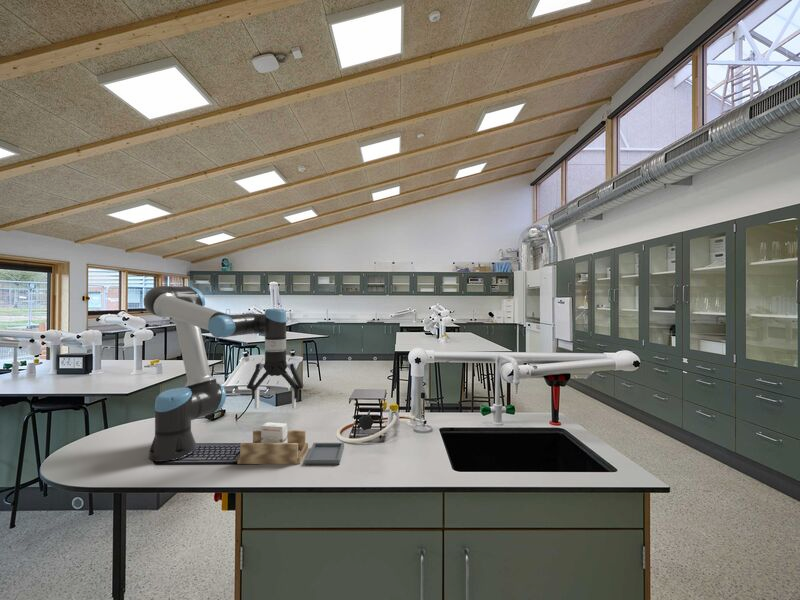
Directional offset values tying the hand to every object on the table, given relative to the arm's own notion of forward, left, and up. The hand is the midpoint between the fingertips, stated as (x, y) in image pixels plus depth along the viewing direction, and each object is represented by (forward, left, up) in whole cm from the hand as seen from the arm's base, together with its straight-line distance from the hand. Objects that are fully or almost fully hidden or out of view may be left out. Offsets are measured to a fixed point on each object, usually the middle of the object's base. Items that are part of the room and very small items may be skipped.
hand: (275, 407), depth 143 cm
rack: (0, 0, -18) cm, 18 cm away
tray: (+19, 0, -18) cm, 26 cm away
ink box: (0, 0, -18) cm, 18 cm away
